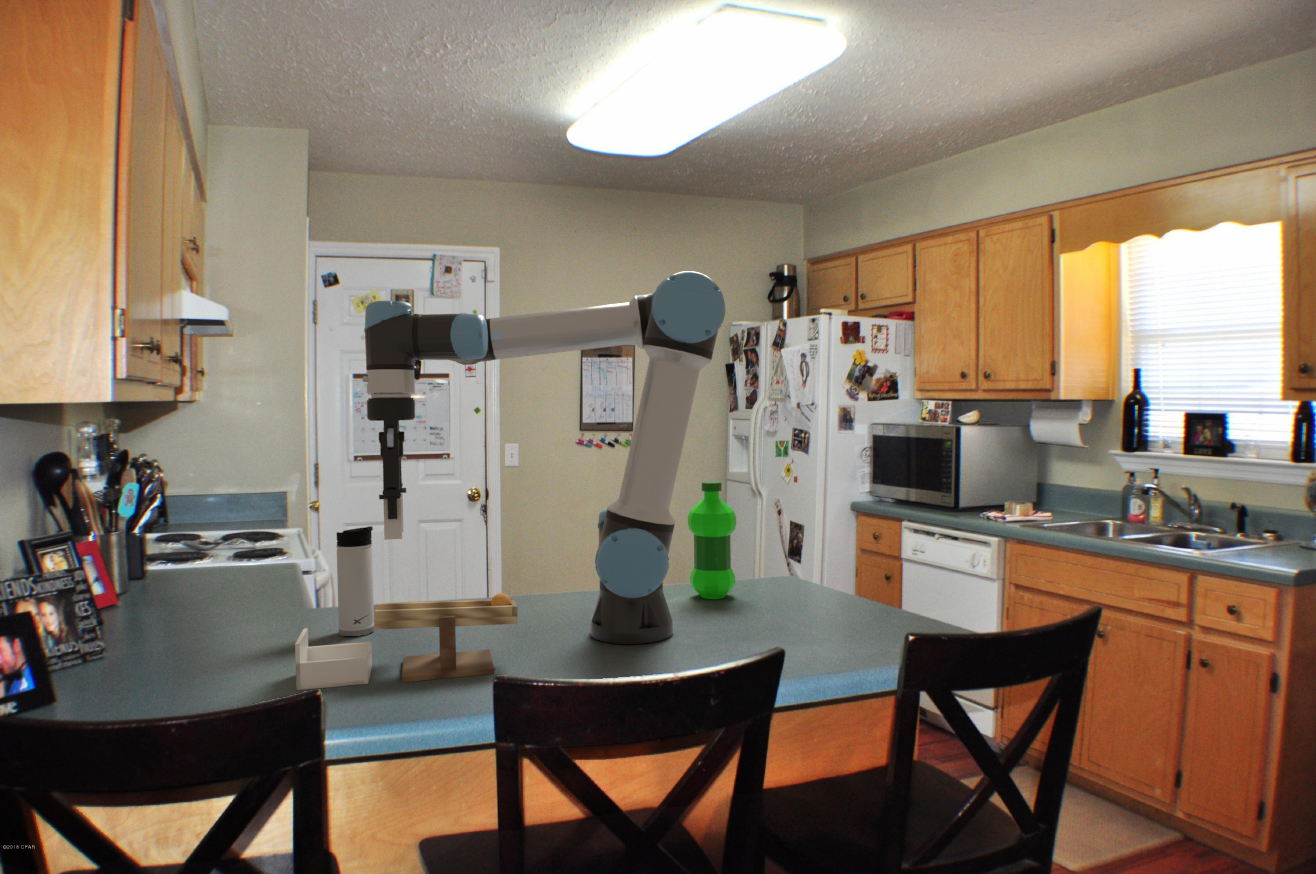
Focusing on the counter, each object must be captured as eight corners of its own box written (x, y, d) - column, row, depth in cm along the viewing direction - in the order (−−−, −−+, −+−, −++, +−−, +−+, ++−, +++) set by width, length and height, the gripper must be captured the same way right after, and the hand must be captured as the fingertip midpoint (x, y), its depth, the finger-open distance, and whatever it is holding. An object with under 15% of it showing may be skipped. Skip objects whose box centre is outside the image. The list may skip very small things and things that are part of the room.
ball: (509, 615, 141) (517, 597, 141) (500, 616, 138) (508, 597, 138) (493, 608, 142) (501, 590, 142) (484, 608, 139) (492, 589, 139)
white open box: (371, 665, 139) (370, 623, 139) (368, 683, 130) (366, 638, 130) (304, 671, 137) (303, 628, 136) (296, 690, 128) (295, 643, 127)
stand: (489, 654, 145) (488, 600, 145) (494, 673, 134) (493, 615, 134) (403, 661, 141) (402, 606, 141) (401, 682, 131) (400, 622, 130)
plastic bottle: (691, 591, 192) (689, 480, 191) (738, 591, 190) (736, 480, 189) (686, 601, 182) (684, 484, 181) (735, 602, 180) (734, 484, 179)
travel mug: (364, 638, 156) (361, 529, 155) (332, 636, 157) (329, 528, 157) (382, 629, 162) (379, 524, 161) (350, 627, 164) (348, 524, 163)
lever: (510, 606, 150) (510, 590, 150) (517, 623, 138) (517, 606, 137) (378, 611, 144) (378, 594, 144) (373, 629, 132) (374, 611, 132)
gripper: (370, 397, 149) (374, 528, 149) (362, 395, 130) (366, 546, 130) (415, 396, 151) (418, 526, 151) (413, 395, 131) (417, 543, 132)
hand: (394, 535), depth 141 cm, fingers open, 7 cm apart
